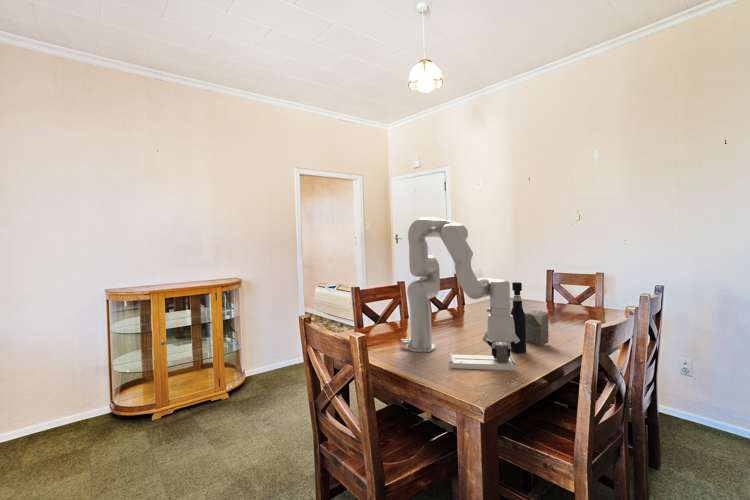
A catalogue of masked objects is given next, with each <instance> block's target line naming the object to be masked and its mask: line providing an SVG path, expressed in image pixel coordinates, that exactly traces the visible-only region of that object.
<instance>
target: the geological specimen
mask: <svg viewBox="0 0 750 500" xmlns="http://www.w3.org/2000/svg"><path fill="white" fill-rule="evenodd" d="M524 314H525V319H526V341H529V342H530V343H532V344H535V345H538V346H544V345H547V344H548V343H549V319H550V318H549V315H550V314H549V313H548V312H547V311H542V310H537V309H535V310H527V311H524Z"/></svg>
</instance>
